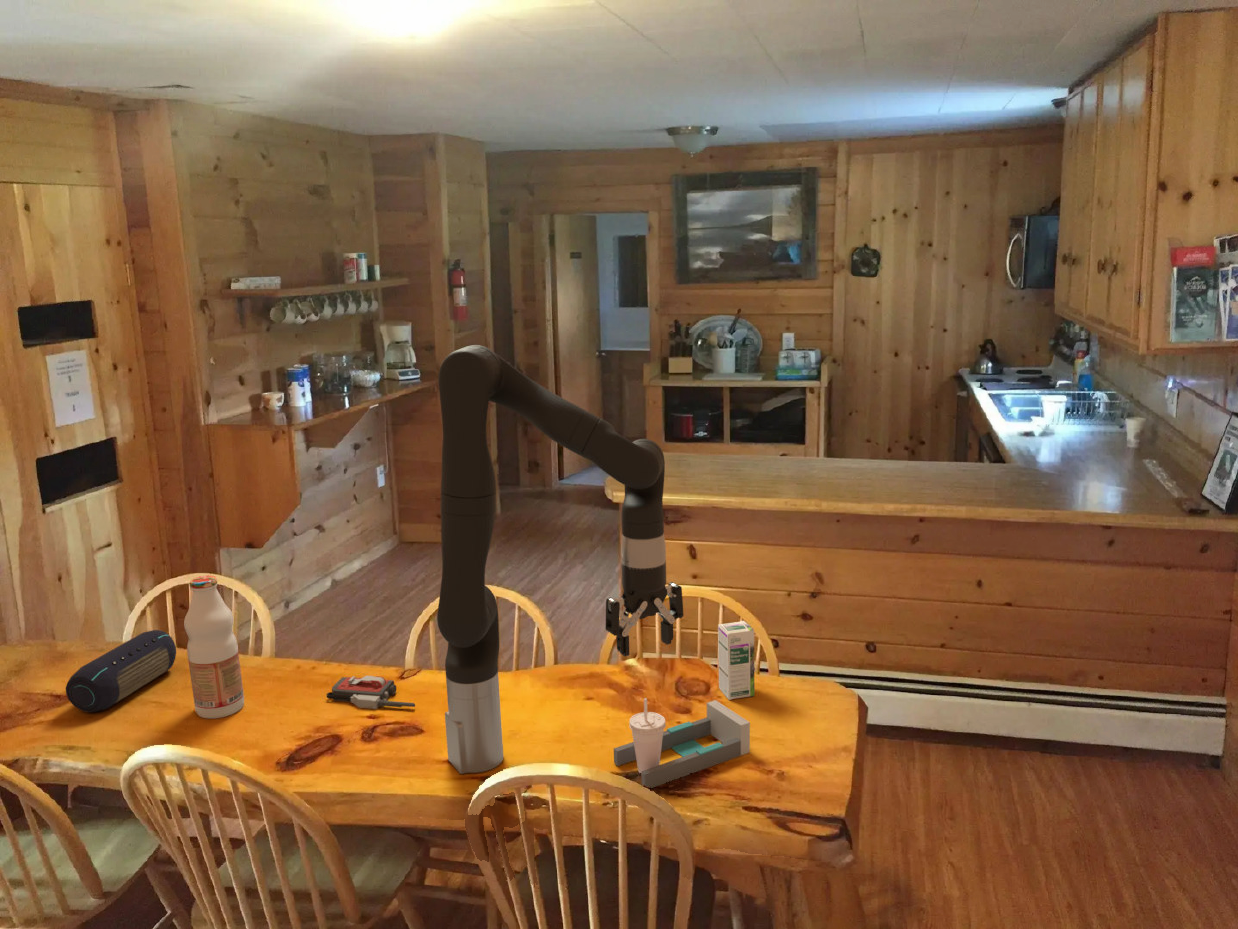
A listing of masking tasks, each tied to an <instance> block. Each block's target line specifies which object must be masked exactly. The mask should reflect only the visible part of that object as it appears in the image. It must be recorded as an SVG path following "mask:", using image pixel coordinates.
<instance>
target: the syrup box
mask: <svg viewBox="0 0 1238 929" xmlns="http://www.w3.org/2000/svg"><path fill="white" fill-rule="evenodd" d="M717 638H718V639H717V640H718V641H717V642H718V643H717V645H718V646H717V648H718V650H717V651H718V688H719V690H720V691H721V693H722V694H723V695H724V696H725V698H727V700H729V701H731V700H734V699H742V698H749V697H755V630H754V628H752V626H751V625H750V624H749V623H748V622H746V621H745V620H740V621H735V622H728V623H719V624H717Z"/></svg>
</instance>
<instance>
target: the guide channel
mask: <svg viewBox="0 0 1238 929" xmlns="http://www.w3.org/2000/svg"><path fill="white" fill-rule="evenodd" d="M750 723H751V722H750V721H748V720H747V719H745V718H744V717H742V716H741V715H739V714H738V713H736V712H735V711H733V710H731V709H730V708H729V707H727V706H725V705H723V704H722V703H720V702H719V700H716V699H715V700H711V701H709V702H706V717H704V718H701V719H698V720H695V721H692V722H691V721H687V722H683V723H680V724H678V725H675V726H672V727H668V728H667V729H666V730H665V731H663V739H662V748H661V752H664V751H667V750H669V749H672V750H673V751H674V752H676V753H677V754H678V755H679V754H680V755H679V756H681V757H678V758H676V759H672V760H670V761H668V762H664V763H660V765H658V766H655V767H653V768H650V769H647V770H644V771H641V774H640V775H641V778H640V779H641V780H640V782H641V784H642V785H645V786H646V787H649V788H650V787H651V789H653V788H656V787H659V786H661V785H664V784H666V782H667V783H669V781H670V782H672V780H673V781H675V780H678V779H681V778H683V777H686V776H688V775H691V774H690V773H692V774H694V773H697V772H699V771H702V770H705V769H707V768H708V769H709V768H711V767H713V766H716V765H718V764H722V763H725V762H727V761H730V760H732V759H735V758H739V757H740V756H744V755H746V754H749V753H751V752H750V751H751V750H750V748H751V746H750V745H751V744H750V743H751V742H750V739H751V736H750V735H751V734H750V730H751V728H750V727H751V726H750V725H751V724H750ZM710 735H711V736H712V737H714V738H715V739H716V740H718V742H715V743H713V744H710V745H708V746H703V745H702V744H700V743H699V742H697V740H698V739H701V738H704V737H707V736H710ZM719 741H720V742H721V743H720V742H719ZM633 760H635V761H637V760H636V754H635V748H634V741H632V742H628V743H627V744H623V745H620V746H617V747H613V763H615V764H616V765H617V766H618V767H620V766H619V765H621V766H622V764H623V765H626V764H628V763H627V762H629V763H631V762H630V761H632V762H634V761H633ZM625 763H626V764H625ZM615 764H614V765H615ZM616 765H615V766H616ZM617 766H616V767H617ZM680 777H681V778H680ZM674 779H675V780H674ZM642 785H641V786H642Z"/></svg>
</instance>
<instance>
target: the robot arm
mask: <svg viewBox="0 0 1238 929" xmlns="http://www.w3.org/2000/svg"><path fill="white" fill-rule="evenodd" d="M438 392H439V401H440V411H441V412H440V413H441V422H442V423H441V424H442V446H441V479H440V480H441V481H440V541H441V545H440V546H441V559H442V560H441V562H442V563H441V564H442V566H441V567H442V570H441V582H440V591H439V600H438V606H437V613H436V614H437V615H436V620H437V621H436V622H437V626H438V629H439V632H440V634H441V635H442V637H443V639H444V640H445V641H447V644H448V645H447V650H446V656H445V662H444V668H445V670H444V671H445V679H446V680H445V681H446V684H445V685H446V694H447V698H446V699H447V709H448V711H445V713H444V722H445V734H446V735H445V737H446V748H447V760H448V761H449V763H450V764H451V765H452V766H453V767H454V768H455V769H456V771H457V772H458V773H459V774H461V775H464V774H468V773H475V774H476V773H483V772H487V771H491V770H493V769H495V768H497V767H498V766H499V765H500V764H501V763H502V761H503V760H504V745H503V744H504V743H503V730H502V729H503V728H502V716H501V714H502V712H501V698H500V696H501V695H500V681H499V679H500V678H499V665H498V664H499V654H500V627H499V626H500V625H499V611H498V610H499V608H498V602H497V599H496V596H495V594H494V593H493V592H492V590H491V589H490V588H489V587H488V586H487V585H486V583H485V582H486V579H485V578H486V576H485V575H486V566H487V560H488V556H489V552H490V551H489V550H490V547H491V542H492V538H493V531H494V526H495V519H496V510H497V508H496V505H497V504H496V503H497V502H496V500H497V487H496V486H497V482H496V473H495V469H494V468H495V467H494V464H493V460H492V457H491V454H490V449H489V446H488V441H487V440H488V439H487V437H488V436H487V424H488V423H487V422H488V421H487V420H488V411H489V402H492V403H493V404H494V403H495V404H497V405H499V406H502V407H503V408H507V409H509V410H511V411H513V412H515V413H516V414H518V415H519V416H521V417H522V418H524V419H526V421H527V422H529V423H530V424H531V425H533V426H534V427H535V428H536V429H537V430H539V431H540V432H541V433H542V434H544V435H545V436H546V437H547V438H549V439H551V440H552V441H553V442H555V443H557V444H558V445H560V446H561V447H563V448H565V449H567V450H569V451H570V452H572V453H574V454H576V455H578V456H580V457H582V458H584V459H586V460H588V461H591V462H592V463H593V464H594V465H596V466H597V467H598V469H601V470H602V471H603V472H604V473H606V474H607V475H608V476H610V477H611V478H613V479H614V480H615V481H617V482H618V483H620V484H622V485H624V497H623V498H624V499H623V502H622V506H621V542H620V560H621V561H620V562H621V563H620V566H621V567H620V568H621V586H622V590H623V592H622V595H621V597H618V598H613V597H611V596H609V597H607V598H606V600H605V630H606V632H608V633H610V634H611V635H613V636H616V637H615V638H616V651H617V652H619V654H620V655H622V656H623V657H628V656H630V636H629V633H630V631H631V629H632V628H633V627H634V626H635V625H636V624H637V622H639V620H643V619H645V618H648V617H653V616H656V615H657V614H658V616H659V617H660V618H661V619H662V620H661V621H660V640H661V642H662V643H664V644H665V645H666V646H667V645H671V644H672V641H673V640H674V623H675V621H676V620H678V619H682V618H683V617H684V604H683V603H684V601H683V589H682V588H683V587H682V586H681V585H679V584H678V583H675V582H673V581H670V582H669V583H668V585H666V584H667V553H666V552H667V551H666V550H667V549H666V548H667V547H666V546H667V545H666V540H665V533H664V532H665V530H664V527H665V524H664V521H665V520H664V519H665V517H664V508H663V507H664V506H663V503H664V502H663V498H664V486H665V467H666V465H665V464H666V463H665V455H664V452H663V450H662V448H661V446H660V445H658V443H656V442H655V441H653V440H652V439H648V438H639V439H636V440H634V441H630V440H629V439H627V438H626V437H624V436H622V435H620V434H619V433H618V432H616V430H615V427H614V426H613V425H612V423H609V422H608V421H606V420H605V419H603V418H601V417H600V416H597V415H595V414H593V413H591V412H589V411H588V410H586V409H584V408H582V407H581V406H579V405H576V404H574V403H572V402H570V401H569V400H567V399H565V398H563V397H561V396H560V395H558V394H556V393H554V392H553V391H550V390H549V389H547V388H545V387H544V386H542V385H540V384H539V383H537V382H536V381H534V380H532V379H531V378H530V377H528V376H527V375H526V374H524V373H522V372H521V371H519V370H518V369H517V368H516V367H514V366H513V365H512V364H511V363H509V362H508V361H506V360H505V359H504V358H502V356H500V355H498V354H497V353H496V352H494V351H493V350H492V349H490V348H488V347H487V346H485V345H484V346H483V345H479V344H473V345H467V346H464V347H462V348H459V349H457V350H455V351H453V352H450V353H449V354H448V355H447V356H446V357H445V358H444V359H443V361H442V363H441V365H440V367H439V370H438ZM667 597H668V600H669V601H668V603H669V604H668V605H669V609H668V607H667V606H666V605H665V604H664V602H665V599H666V598H667ZM622 606H624V607H623V608H622ZM629 615H631V616H630V617H629Z"/></svg>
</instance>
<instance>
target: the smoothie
mask: <svg viewBox="0 0 1238 929" xmlns="http://www.w3.org/2000/svg"><path fill="white" fill-rule="evenodd" d="M666 725H667V724H666V718H665V717H664V716H663V715H662V714H659V713H657V712H655V711H654V712H653V711H648V699H647V697H644V698H643V712H638V713H635V714H634V715H632V716H631V717H630V718H629V725H628V726H629V728H630V730H631V734H632V735H631V736H632V740H633V741H632V742H634V748H635V754H636V760H635V761H636V765H637V771H638V773H639V774H640V773H641V771H644V770H647V769H650V768H653V767H655V766H658V765H661V755H662V751H661V748H662V739H663V732H664V729H666V727H667V726H666Z"/></svg>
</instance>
